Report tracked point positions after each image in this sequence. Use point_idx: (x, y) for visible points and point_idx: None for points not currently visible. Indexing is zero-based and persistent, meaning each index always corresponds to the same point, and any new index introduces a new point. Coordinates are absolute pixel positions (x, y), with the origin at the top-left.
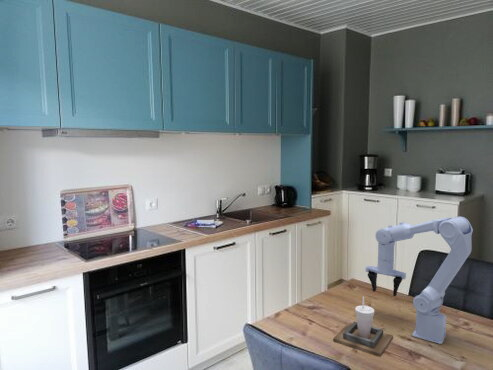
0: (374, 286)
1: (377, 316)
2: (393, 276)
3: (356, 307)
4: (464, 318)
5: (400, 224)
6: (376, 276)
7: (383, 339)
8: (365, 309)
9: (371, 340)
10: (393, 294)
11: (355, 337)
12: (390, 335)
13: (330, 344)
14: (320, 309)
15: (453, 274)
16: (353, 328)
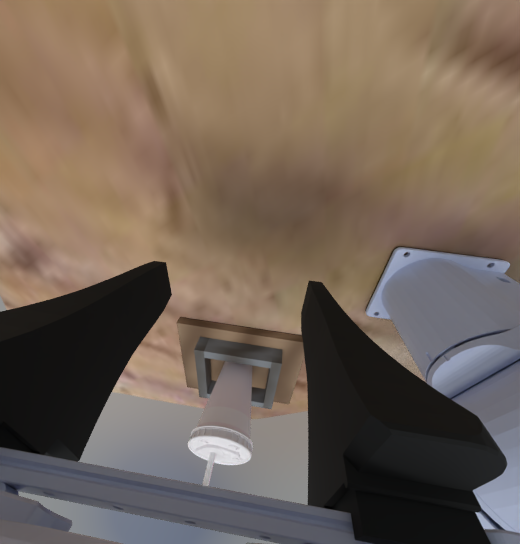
0: (148, 323)
1: (233, 221)
2: (304, 515)
3: (191, 448)
4: None
5: None
6: (60, 344)
7: (286, 365)
8: (222, 456)
9: (264, 404)
10: (302, 323)
11: None
12: (301, 345)
13: (191, 389)
14: (54, 260)
15: None
16: (207, 366)
